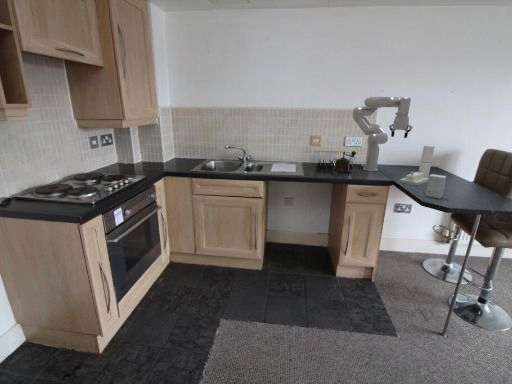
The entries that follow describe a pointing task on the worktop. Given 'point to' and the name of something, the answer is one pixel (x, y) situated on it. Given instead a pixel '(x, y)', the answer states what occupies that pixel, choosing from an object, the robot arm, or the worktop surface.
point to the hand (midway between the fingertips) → (398, 137)
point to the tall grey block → (426, 160)
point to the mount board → (416, 180)
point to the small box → (436, 186)
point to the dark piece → (343, 163)
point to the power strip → (414, 176)
